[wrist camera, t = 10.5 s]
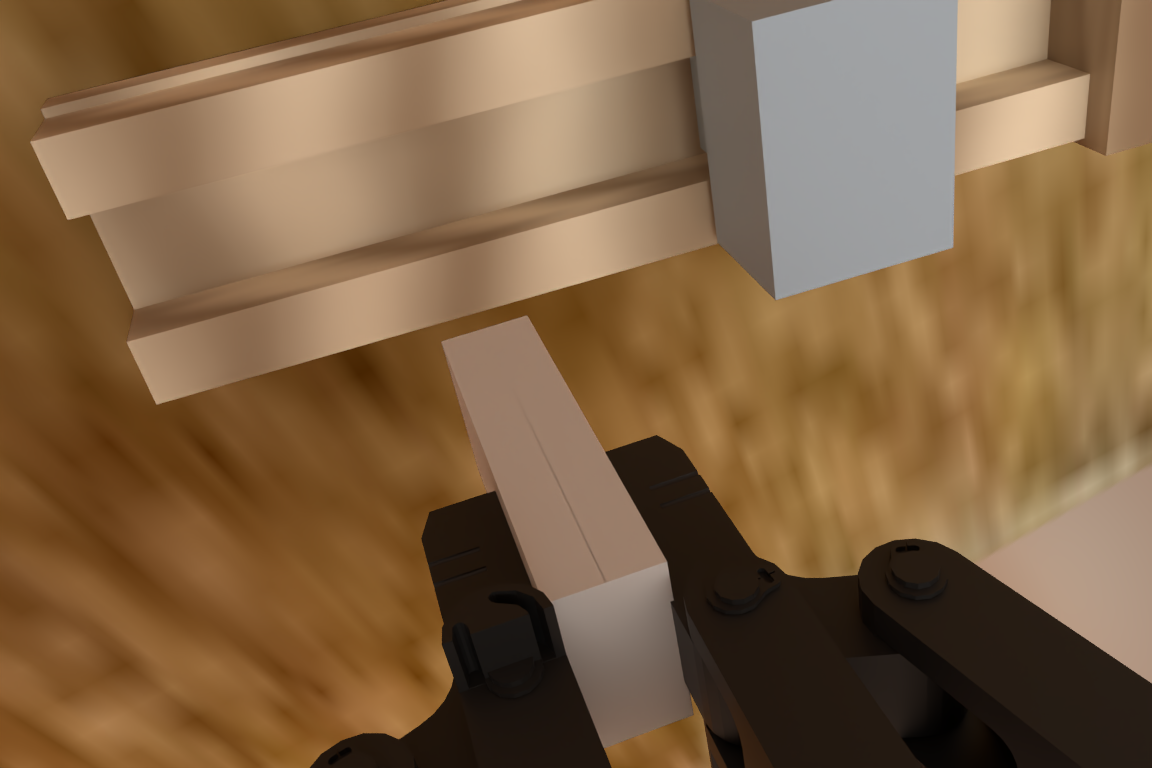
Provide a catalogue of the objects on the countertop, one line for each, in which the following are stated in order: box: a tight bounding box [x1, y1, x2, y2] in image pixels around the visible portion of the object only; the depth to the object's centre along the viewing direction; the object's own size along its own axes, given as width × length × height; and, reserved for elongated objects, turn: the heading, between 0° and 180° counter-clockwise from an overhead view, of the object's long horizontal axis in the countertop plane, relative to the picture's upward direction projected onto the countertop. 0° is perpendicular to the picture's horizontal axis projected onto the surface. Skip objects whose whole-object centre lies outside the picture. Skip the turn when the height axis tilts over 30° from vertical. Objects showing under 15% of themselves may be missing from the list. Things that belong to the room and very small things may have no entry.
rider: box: [689, 0, 958, 300], centre depth 27 cm, size 5×7×6 cm
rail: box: [30, 0, 1152, 404], centre depth 29 cm, size 30×8×4 cm, turn 101°
